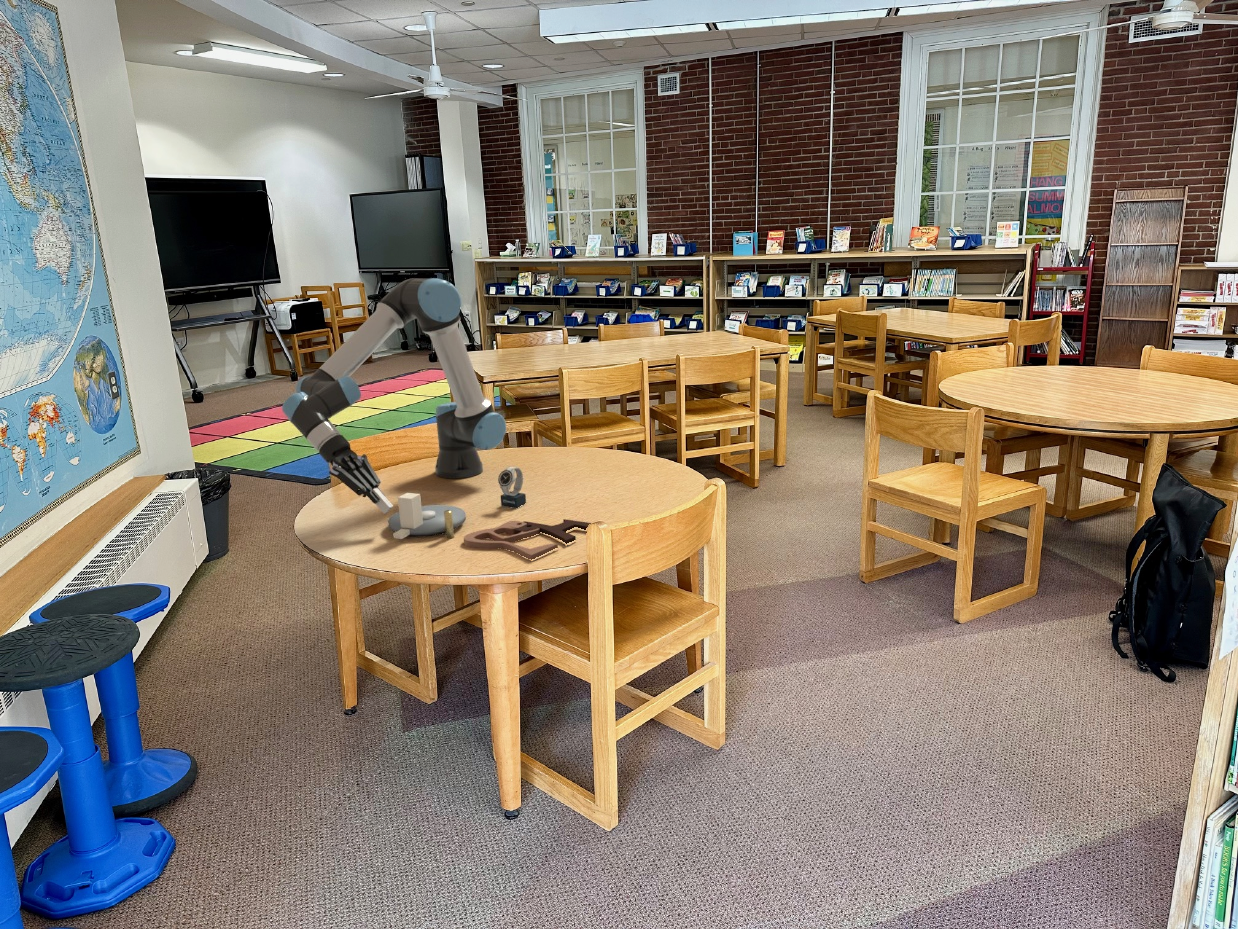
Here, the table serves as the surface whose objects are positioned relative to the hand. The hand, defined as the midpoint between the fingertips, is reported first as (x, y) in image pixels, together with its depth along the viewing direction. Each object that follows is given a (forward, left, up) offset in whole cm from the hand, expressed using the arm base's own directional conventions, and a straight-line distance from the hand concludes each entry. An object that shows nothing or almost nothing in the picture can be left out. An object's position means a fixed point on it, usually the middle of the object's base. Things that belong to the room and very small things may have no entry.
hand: (388, 509), depth 217 cm
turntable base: (-8, +6, -6) cm, 11 cm away
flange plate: (-6, +6, -5) cm, 10 cm away
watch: (-32, +17, -6) cm, 36 cm away
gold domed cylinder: (-3, +17, -6) cm, 18 cm away
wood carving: (-12, +36, -7) cm, 38 cm away
